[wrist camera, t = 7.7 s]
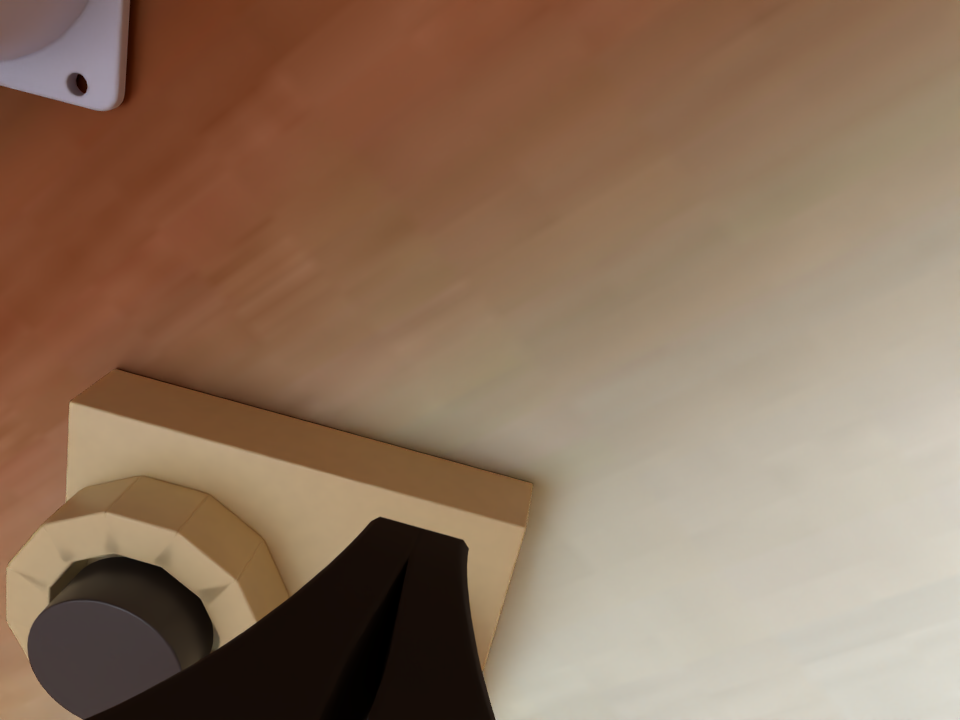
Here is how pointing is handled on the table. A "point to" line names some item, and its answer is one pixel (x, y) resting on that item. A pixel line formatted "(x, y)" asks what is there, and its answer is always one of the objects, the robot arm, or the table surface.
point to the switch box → (248, 504)
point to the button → (116, 635)
